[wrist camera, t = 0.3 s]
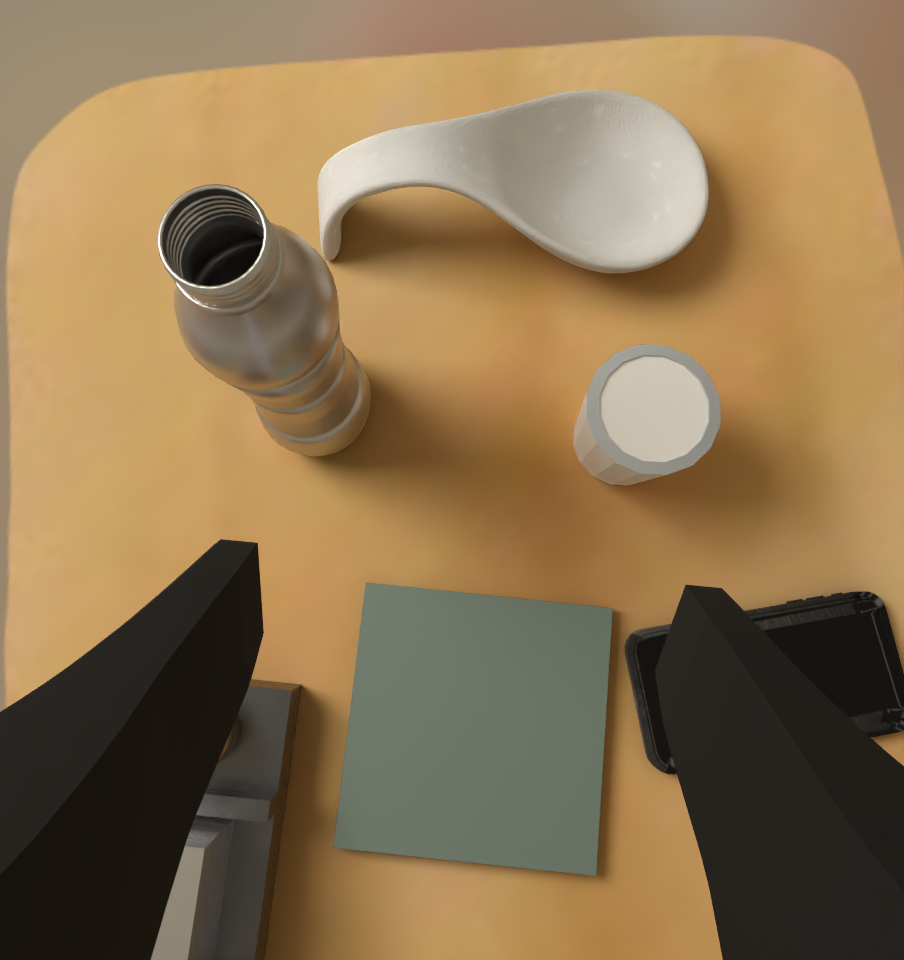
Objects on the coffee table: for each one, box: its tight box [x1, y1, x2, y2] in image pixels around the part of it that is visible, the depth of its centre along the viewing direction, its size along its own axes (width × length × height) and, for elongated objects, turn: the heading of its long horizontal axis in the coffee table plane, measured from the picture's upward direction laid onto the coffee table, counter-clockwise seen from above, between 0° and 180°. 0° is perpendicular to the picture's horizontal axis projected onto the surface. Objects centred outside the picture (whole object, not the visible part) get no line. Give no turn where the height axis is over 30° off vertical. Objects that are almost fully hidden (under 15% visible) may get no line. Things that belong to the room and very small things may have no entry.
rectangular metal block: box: [151, 815, 234, 960], centre depth 33 cm, size 7×4×4 cm, turn 174°
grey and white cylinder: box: [574, 344, 721, 486], centre depth 38 cm, size 7×7×7 cm
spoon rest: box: [318, 89, 709, 273], centre depth 41 cm, size 24×12×7 cm, turn 96°
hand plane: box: [196, 679, 301, 960], centre depth 34 cm, size 20×8×6 cm, turn 174°
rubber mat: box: [333, 583, 613, 876], centre depth 38 cm, size 14×14×1 cm
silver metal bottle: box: [157, 184, 371, 456], centre depth 32 cm, size 6×7×20 cm
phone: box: [625, 592, 904, 774], centre depth 39 cm, size 8×1×15 cm
